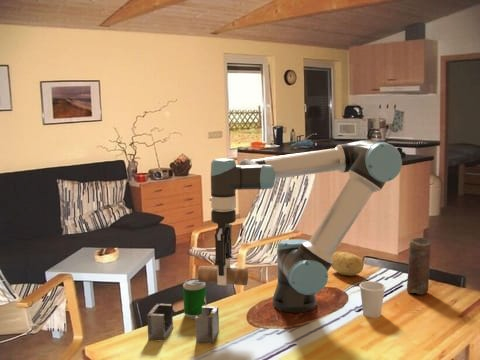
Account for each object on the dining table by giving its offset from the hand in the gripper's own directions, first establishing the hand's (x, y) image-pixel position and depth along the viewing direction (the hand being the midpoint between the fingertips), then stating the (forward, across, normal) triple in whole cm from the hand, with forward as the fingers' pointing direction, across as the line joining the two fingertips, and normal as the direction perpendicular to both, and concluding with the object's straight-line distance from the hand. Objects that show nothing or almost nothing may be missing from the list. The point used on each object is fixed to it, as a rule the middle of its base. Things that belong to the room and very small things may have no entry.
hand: (223, 281), depth 157 cm
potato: (+14, -54, +39) cm, 68 cm away
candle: (+14, -37, +65) cm, 76 cm away
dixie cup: (+14, -16, +47) cm, 51 cm away
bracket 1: (+16, +7, -18) cm, 25 cm away
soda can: (+16, -7, -12) cm, 21 cm away
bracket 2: (+15, +7, -4) cm, 17 cm away
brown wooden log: (0, -1, 0) cm, 1 cm away
